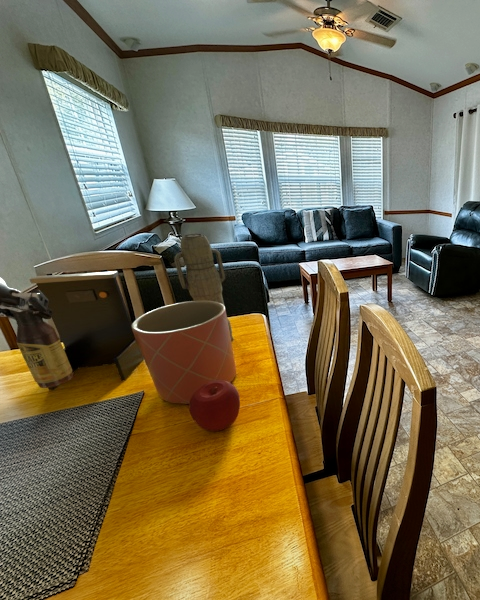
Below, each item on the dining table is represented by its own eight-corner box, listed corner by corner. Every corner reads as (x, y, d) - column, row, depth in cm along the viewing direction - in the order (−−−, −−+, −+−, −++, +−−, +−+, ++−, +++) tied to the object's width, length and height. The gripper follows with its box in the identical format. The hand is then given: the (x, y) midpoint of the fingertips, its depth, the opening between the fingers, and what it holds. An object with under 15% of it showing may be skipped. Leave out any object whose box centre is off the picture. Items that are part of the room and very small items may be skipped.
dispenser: (76, 366, 94) (36, 276, 84) (147, 357, 98) (117, 271, 88) (46, 390, 84) (-4, 291, 73) (127, 380, 88) (91, 284, 78)
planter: (196, 415, 75) (172, 339, 67) (137, 398, 81) (110, 326, 73) (255, 370, 92) (241, 305, 84) (203, 359, 97) (186, 296, 90)
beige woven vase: (243, 339, 109) (221, 233, 95) (205, 353, 100) (175, 240, 87) (231, 331, 114) (208, 230, 101) (194, 344, 105) (164, 236, 92)
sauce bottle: (31, 387, 75) (-11, 308, 67) (63, 372, 80) (27, 297, 73) (52, 391, 73) (11, 310, 66) (83, 375, 79) (49, 299, 71)
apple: (193, 446, 67) (180, 407, 63) (200, 415, 75) (189, 379, 71) (243, 433, 70) (234, 395, 66) (245, 405, 78) (237, 370, 74)
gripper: (12, 260, 60) (78, 298, 76) (-89, 265, 57) (2, 304, 72) (0, 297, 57) (72, 328, 73) (-106, 304, 54) (-8, 336, 70)
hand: (36, 316), depth 73 cm, fingers closed on sauce bottle, 4 cm apart
